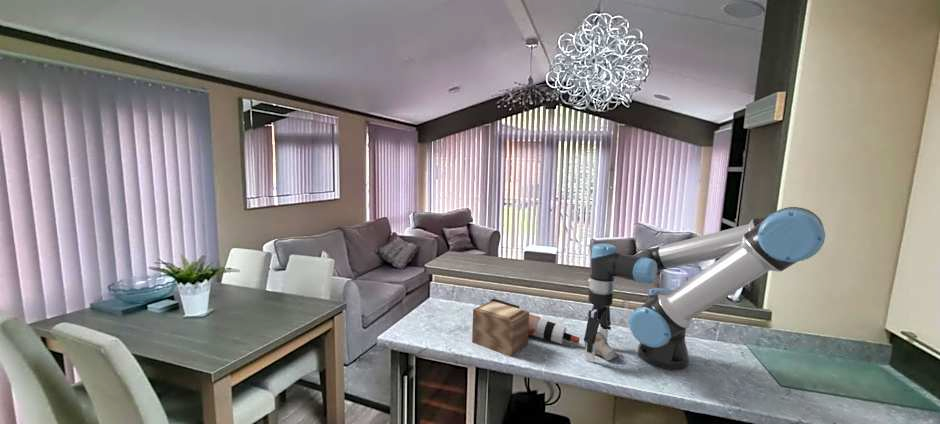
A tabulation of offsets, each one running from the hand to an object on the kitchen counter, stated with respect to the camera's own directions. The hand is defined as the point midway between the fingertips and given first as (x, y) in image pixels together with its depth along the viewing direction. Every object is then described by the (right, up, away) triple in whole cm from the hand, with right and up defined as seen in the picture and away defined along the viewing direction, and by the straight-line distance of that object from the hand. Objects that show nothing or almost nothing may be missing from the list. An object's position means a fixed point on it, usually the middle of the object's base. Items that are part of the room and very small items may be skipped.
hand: (596, 353), depth 130 cm
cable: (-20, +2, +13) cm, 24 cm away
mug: (+2, -1, 0) cm, 2 cm away
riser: (-32, +1, +6) cm, 32 cm away
